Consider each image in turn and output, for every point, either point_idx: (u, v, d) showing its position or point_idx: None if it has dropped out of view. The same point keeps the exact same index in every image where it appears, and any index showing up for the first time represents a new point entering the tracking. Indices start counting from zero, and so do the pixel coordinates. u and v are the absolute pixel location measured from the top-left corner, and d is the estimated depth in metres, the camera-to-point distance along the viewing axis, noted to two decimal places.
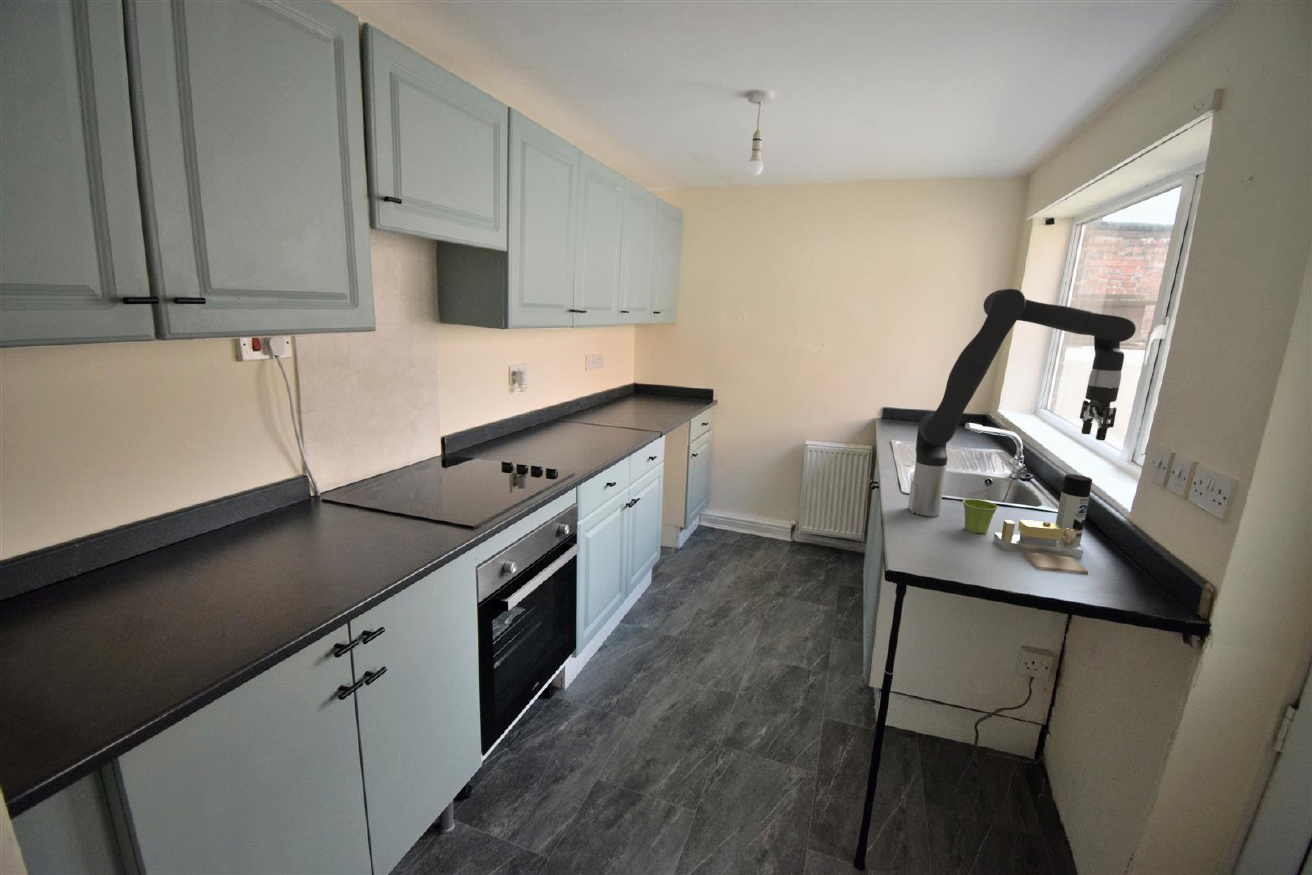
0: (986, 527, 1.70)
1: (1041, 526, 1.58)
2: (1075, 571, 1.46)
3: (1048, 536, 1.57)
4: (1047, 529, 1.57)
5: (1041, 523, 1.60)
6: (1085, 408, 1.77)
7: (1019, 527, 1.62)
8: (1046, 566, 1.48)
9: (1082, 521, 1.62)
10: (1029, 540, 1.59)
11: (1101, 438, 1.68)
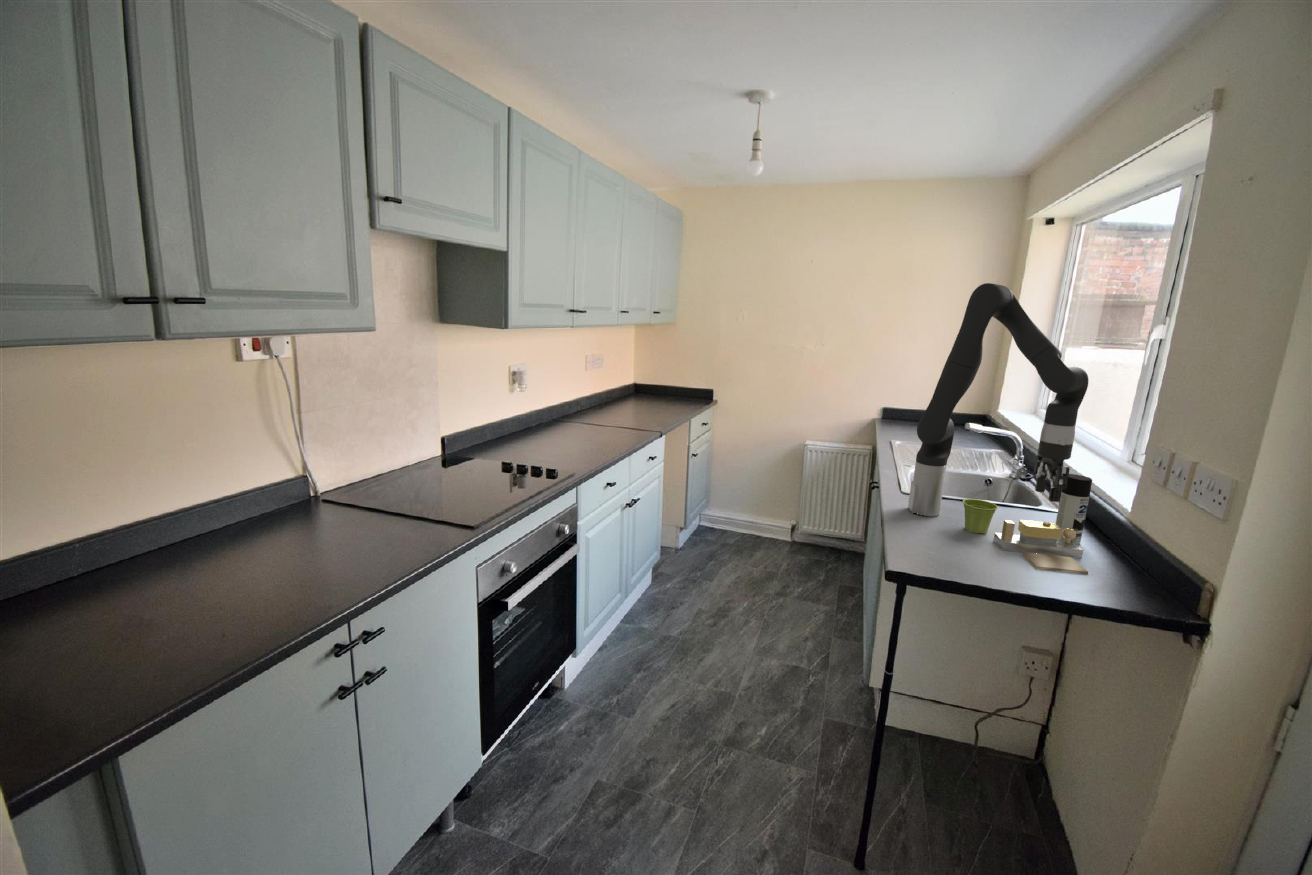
0: (986, 527, 1.70)
1: (1041, 526, 1.58)
2: (1075, 571, 1.46)
3: (1048, 536, 1.57)
4: (1047, 529, 1.57)
5: (1041, 523, 1.60)
6: (1039, 463, 1.61)
7: (1019, 527, 1.62)
8: (1046, 566, 1.48)
9: (1082, 521, 1.62)
10: (1029, 540, 1.59)
11: (1054, 499, 1.52)
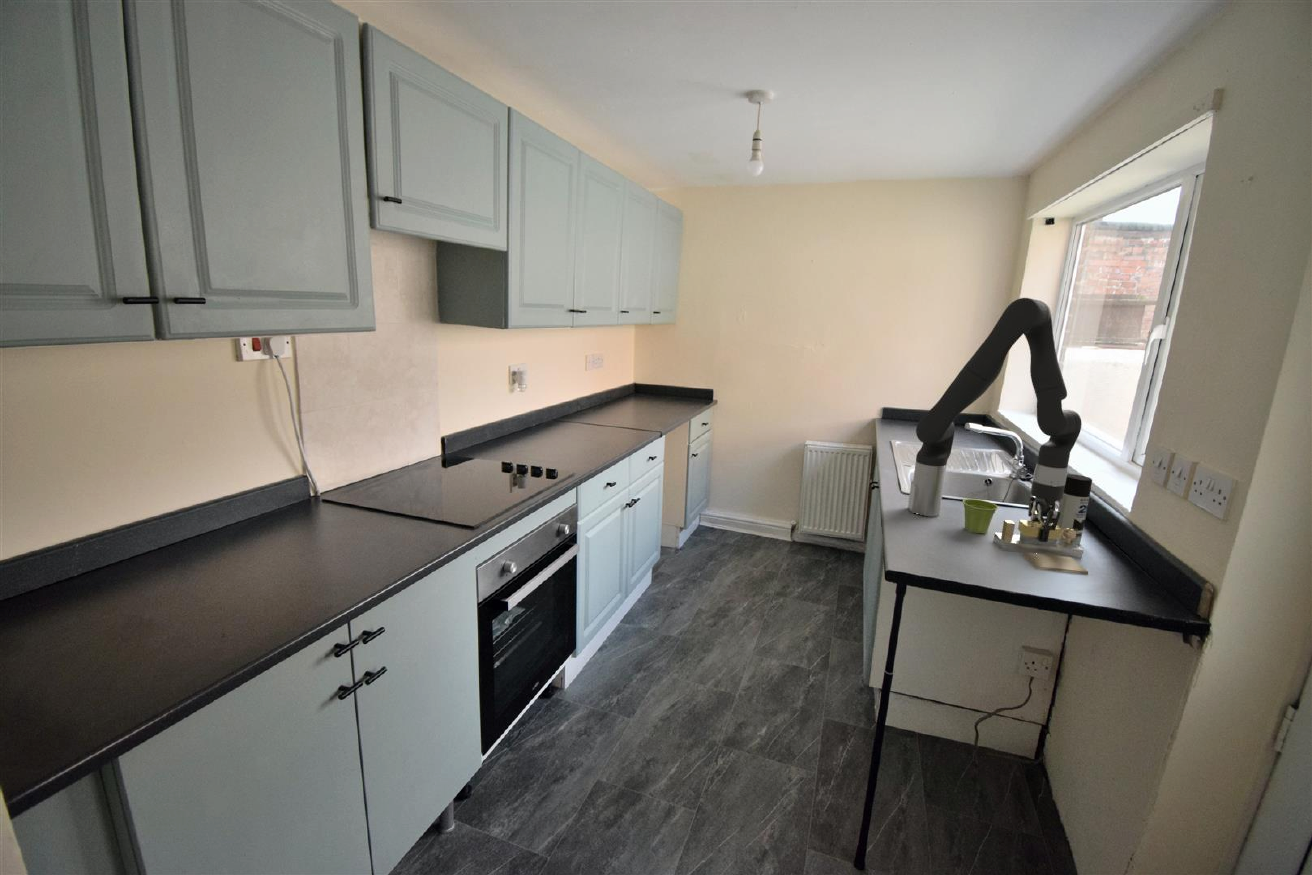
0: (986, 527, 1.70)
1: None
2: (1075, 571, 1.46)
3: None
4: None
5: None
6: (1032, 504, 1.63)
7: (1019, 527, 1.62)
8: (1046, 566, 1.48)
9: (1082, 521, 1.62)
10: (1029, 540, 1.59)
11: (1043, 540, 1.56)
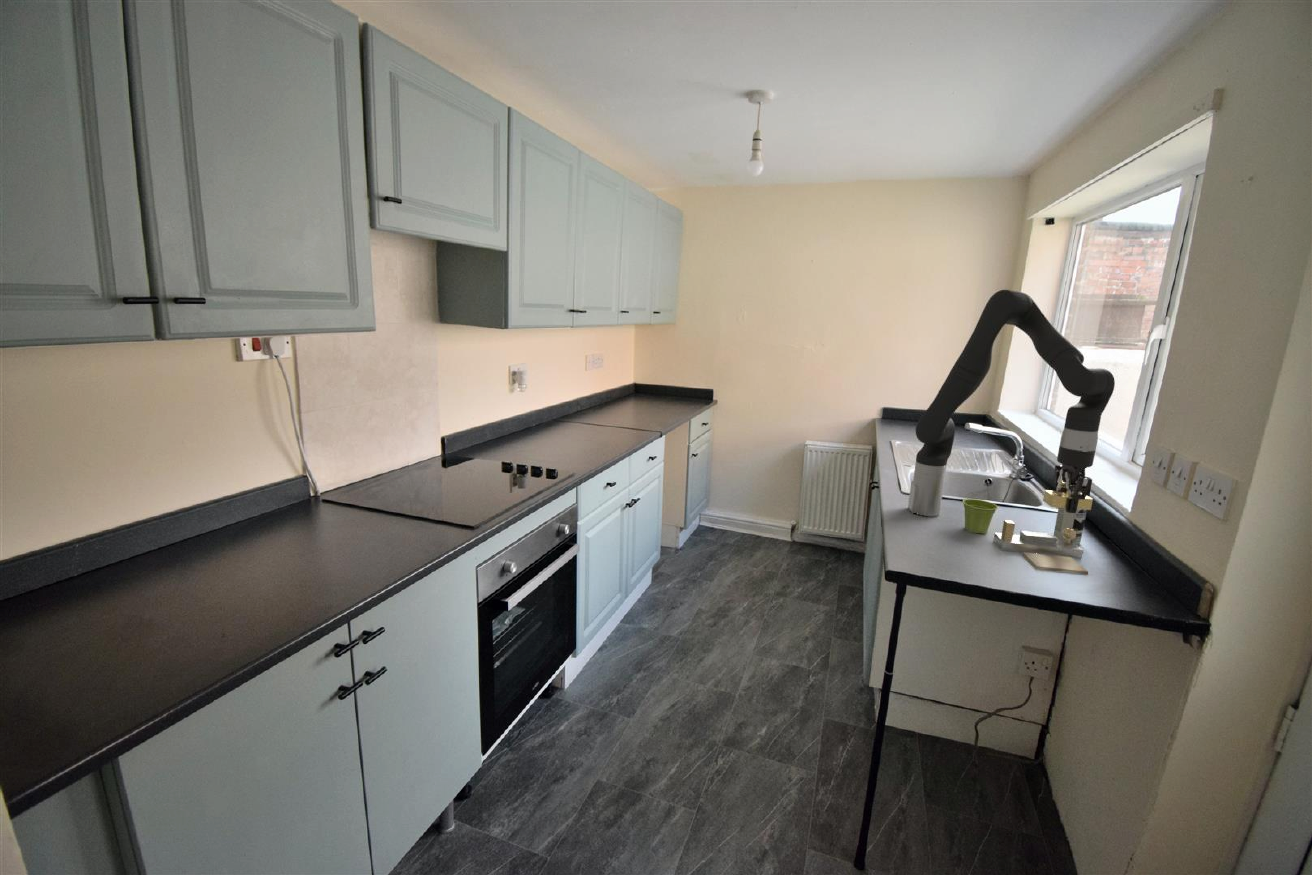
0: (986, 527, 1.70)
1: None
2: (1075, 571, 1.46)
3: (1077, 507, 1.45)
4: None
5: None
6: (1058, 474, 1.51)
7: (1044, 498, 1.50)
8: (1046, 566, 1.48)
9: (1082, 521, 1.62)
10: (1029, 540, 1.59)
11: (1071, 511, 1.44)
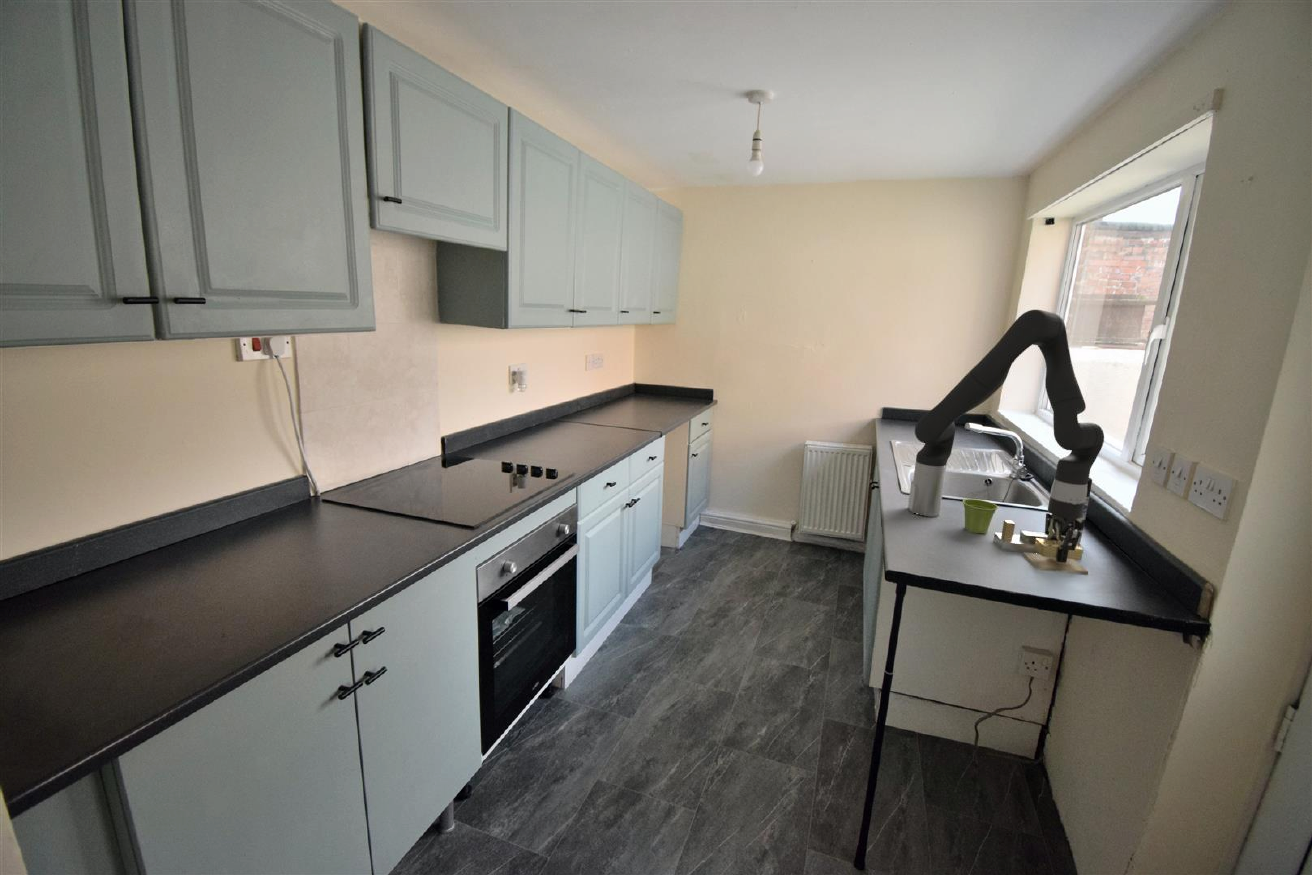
0: (986, 527, 1.70)
1: None
2: (1075, 571, 1.46)
3: (1067, 556, 1.48)
4: None
5: None
6: (1049, 522, 1.54)
7: (1035, 546, 1.53)
8: (1046, 566, 1.48)
9: (1082, 521, 1.62)
10: (1029, 540, 1.59)
11: (1062, 560, 1.47)
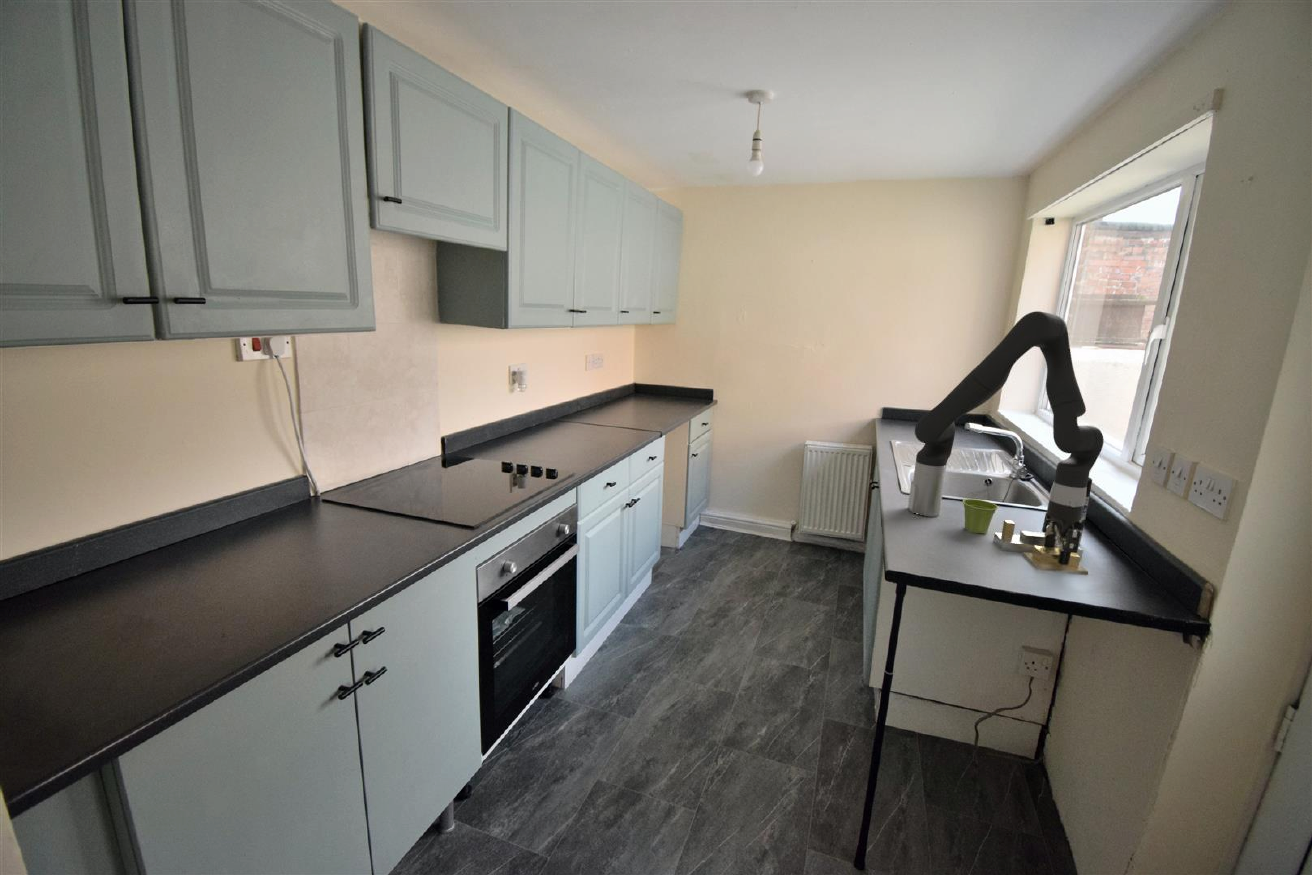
0: (986, 527, 1.70)
1: (1057, 553, 1.49)
2: (1075, 571, 1.46)
3: None
4: None
5: (1057, 549, 1.51)
6: (1048, 521, 1.55)
7: (1033, 554, 1.53)
8: (1046, 566, 1.48)
9: (1082, 521, 1.62)
10: (1029, 540, 1.59)
11: (1064, 563, 1.46)
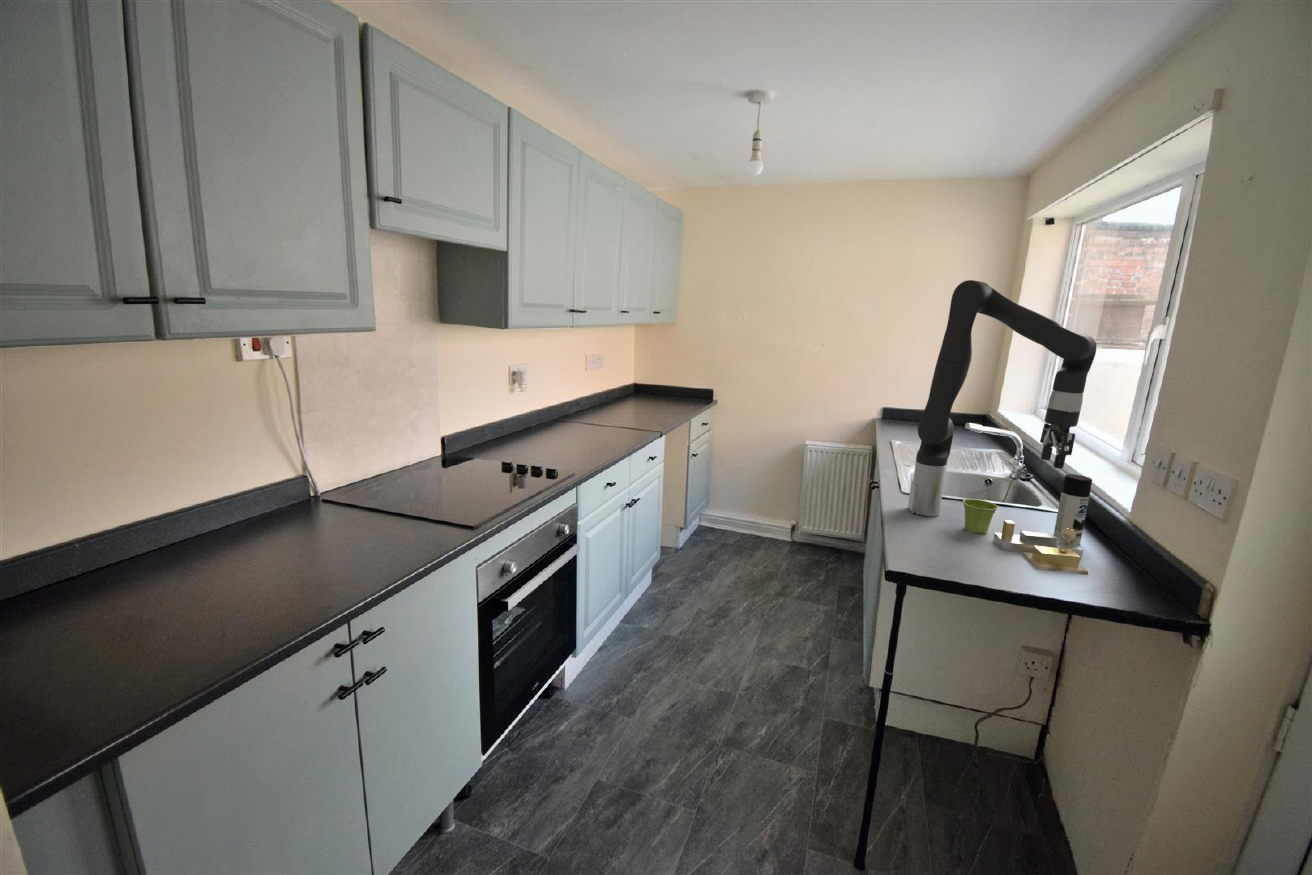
0: (986, 527, 1.70)
1: (1057, 553, 1.49)
2: (1075, 571, 1.46)
3: (1065, 564, 1.48)
4: (1064, 556, 1.48)
5: (1057, 549, 1.51)
6: (1046, 432, 1.62)
7: (1033, 554, 1.53)
8: (1046, 566, 1.48)
9: (1082, 521, 1.62)
10: (1029, 540, 1.59)
11: (1059, 466, 1.54)
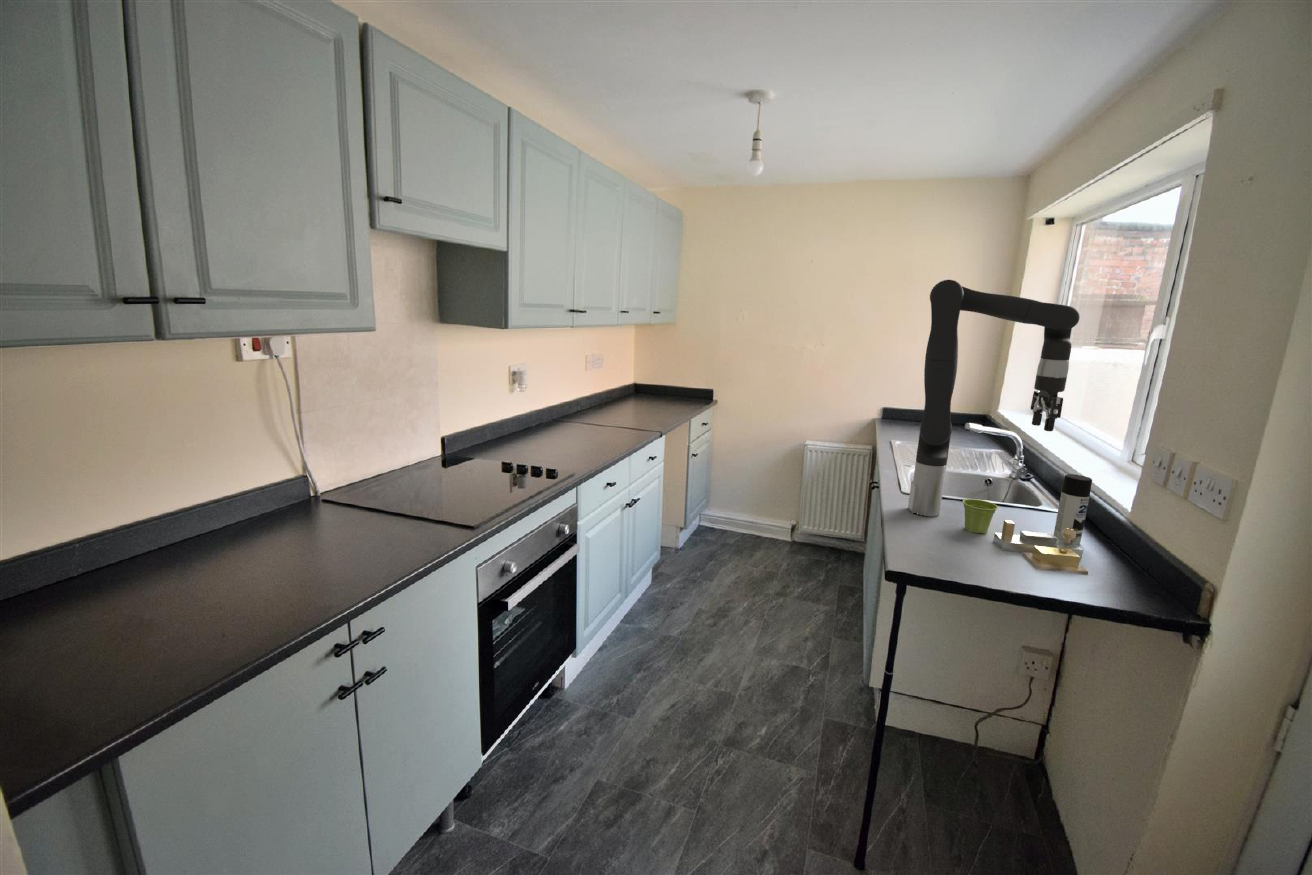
0: (986, 527, 1.70)
1: (1057, 553, 1.49)
2: (1075, 571, 1.46)
3: (1065, 564, 1.48)
4: (1064, 556, 1.48)
5: (1057, 549, 1.51)
6: (1035, 399, 1.74)
7: (1033, 554, 1.53)
8: (1046, 566, 1.48)
9: (1082, 521, 1.62)
10: (1029, 540, 1.59)
11: (1049, 429, 1.65)
